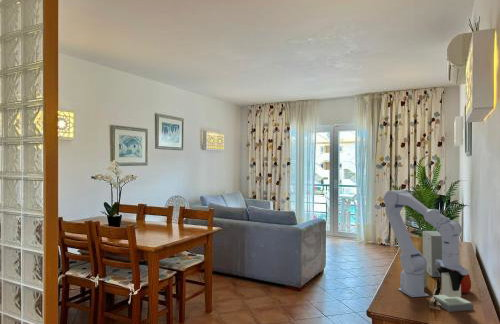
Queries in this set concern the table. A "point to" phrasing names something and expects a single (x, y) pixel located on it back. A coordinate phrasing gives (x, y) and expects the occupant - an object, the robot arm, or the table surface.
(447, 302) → the tray
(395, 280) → the table surface
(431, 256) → the hard drive box
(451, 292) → the carton
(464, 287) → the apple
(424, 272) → the box
